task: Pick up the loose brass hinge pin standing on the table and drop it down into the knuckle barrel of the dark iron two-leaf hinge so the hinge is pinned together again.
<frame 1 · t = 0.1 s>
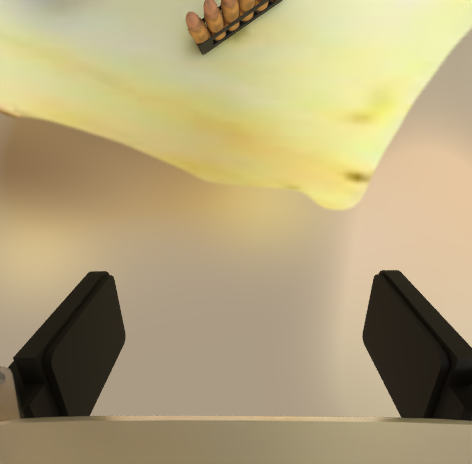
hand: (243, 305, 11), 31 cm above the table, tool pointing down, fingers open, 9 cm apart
ammunition clip: (239, 19, 34), on the table
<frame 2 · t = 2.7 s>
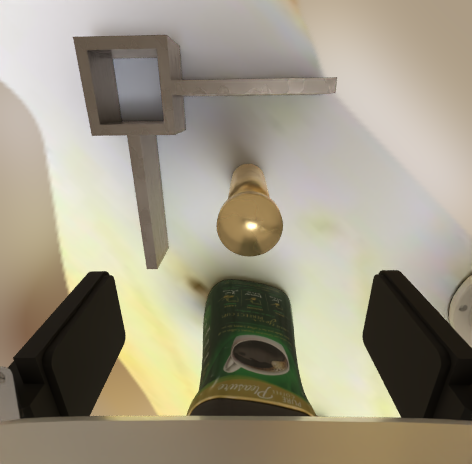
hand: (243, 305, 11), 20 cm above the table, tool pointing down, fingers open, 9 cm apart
hinge: (145, 90, 26), on the table
coffee jar: (247, 306, 35), on the table
hinge pin: (248, 180, 29), on the table
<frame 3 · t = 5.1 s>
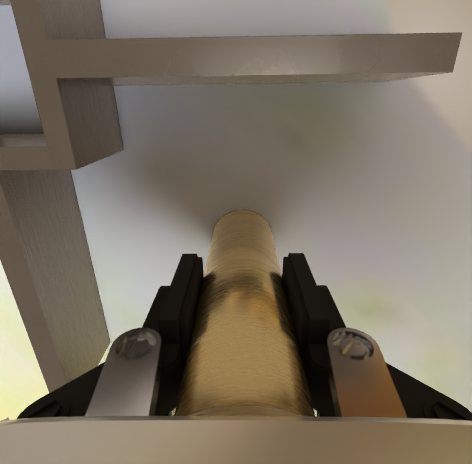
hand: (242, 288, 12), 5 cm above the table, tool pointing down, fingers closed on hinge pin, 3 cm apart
hinge: (36, 73, 13), on the table
hinge pin: (242, 238, 16), on the table, touching gripper
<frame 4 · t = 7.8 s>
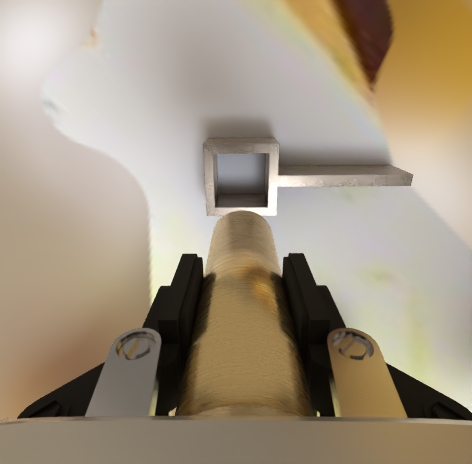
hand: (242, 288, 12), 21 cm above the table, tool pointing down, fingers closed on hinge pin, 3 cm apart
hinge: (241, 170, 32), on the table
hinge pin: (242, 238, 16), point 17 cm above the table, touching gripper
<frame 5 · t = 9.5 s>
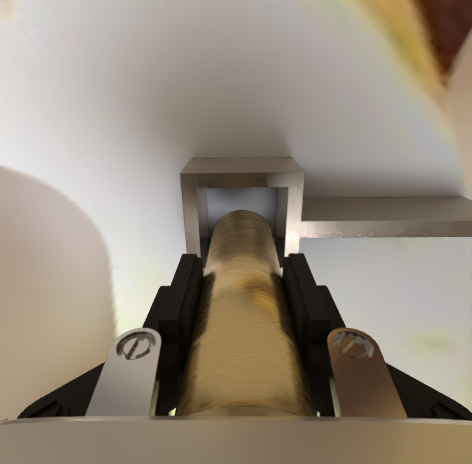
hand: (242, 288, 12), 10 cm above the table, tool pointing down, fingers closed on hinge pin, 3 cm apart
hinge: (242, 205, 21), on the table
hinge pin: (242, 238, 16), point 6 cm above the table, touching gripper
when the fingers open (6 cm above the table, at t = 10.7 s): hinge pin drops 1 cm, resting in hinge.
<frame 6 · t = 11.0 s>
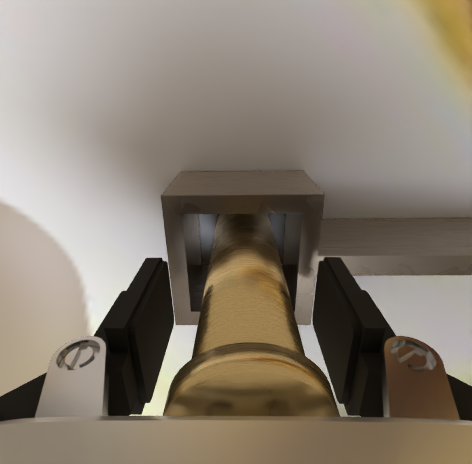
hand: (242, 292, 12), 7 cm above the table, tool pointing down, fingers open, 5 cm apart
hinge: (242, 227, 18), on the table
hinge pin: (243, 227, 18), resting in hinge
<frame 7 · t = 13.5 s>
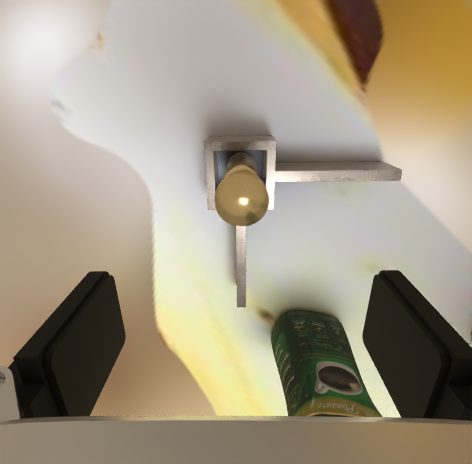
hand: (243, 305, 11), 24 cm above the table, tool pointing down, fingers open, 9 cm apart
hinge: (240, 167, 33), on the table
coffee jar: (305, 330, 42), on the table
hinge pin: (241, 167, 33), resting in hinge
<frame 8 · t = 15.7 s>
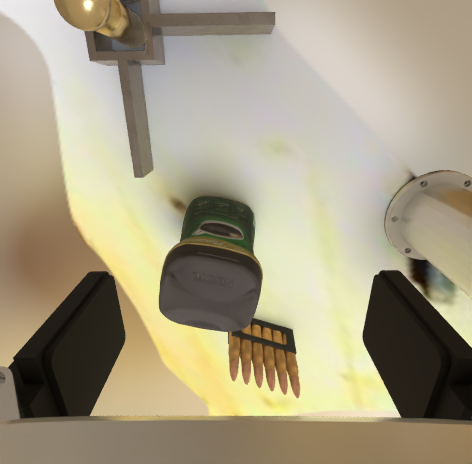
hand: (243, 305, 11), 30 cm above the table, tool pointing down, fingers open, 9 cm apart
hinge: (132, 31, 33), on the table
coffee jar: (220, 223, 43), on the table
hinge pin: (132, 31, 33), resting in hinge
ammunition clip: (260, 324, 50), on the table
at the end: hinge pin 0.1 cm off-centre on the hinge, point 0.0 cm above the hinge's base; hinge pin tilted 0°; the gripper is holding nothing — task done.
